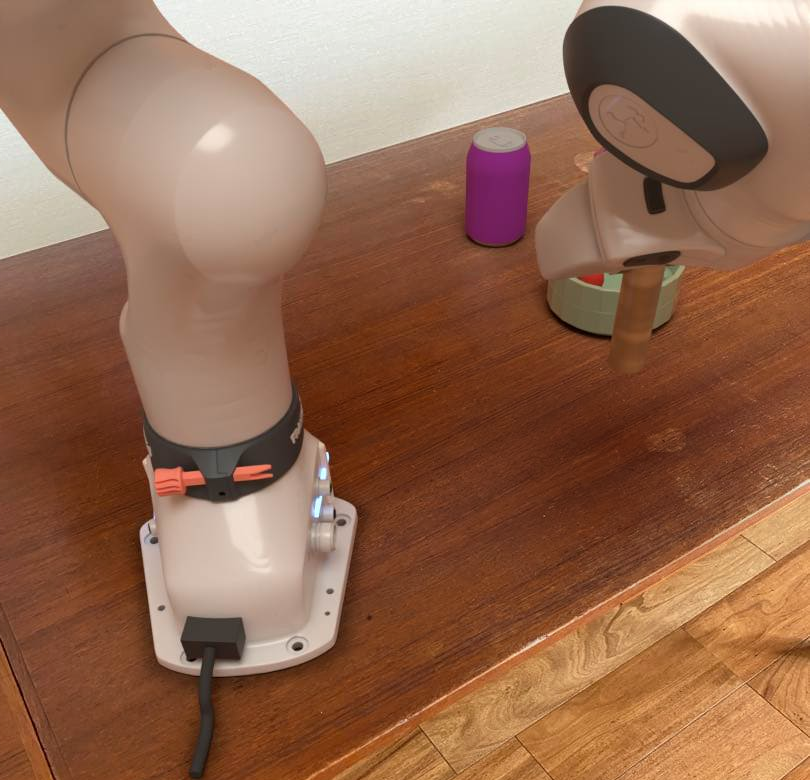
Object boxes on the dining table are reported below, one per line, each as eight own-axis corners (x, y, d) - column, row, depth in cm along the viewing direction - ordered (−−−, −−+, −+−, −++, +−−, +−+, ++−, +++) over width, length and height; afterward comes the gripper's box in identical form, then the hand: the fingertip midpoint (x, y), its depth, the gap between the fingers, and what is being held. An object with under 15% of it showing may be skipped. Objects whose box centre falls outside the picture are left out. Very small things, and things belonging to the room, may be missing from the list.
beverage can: (452, 233, 110) (453, 136, 101) (497, 214, 113) (502, 119, 104) (492, 256, 106) (496, 158, 97) (538, 236, 109) (546, 138, 100)
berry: (605, 296, 98) (609, 272, 95) (579, 299, 97) (582, 275, 95) (598, 282, 100) (602, 259, 97) (573, 285, 100) (575, 261, 97)
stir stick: (649, 372, 71) (691, 179, 59) (612, 375, 71) (648, 182, 59) (638, 351, 73) (677, 160, 61) (603, 354, 73) (636, 163, 61)
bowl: (691, 335, 93) (704, 285, 89) (562, 346, 93) (568, 297, 88) (652, 267, 103) (662, 219, 99) (535, 277, 102) (539, 229, 98)
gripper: (884, 117, 53) (760, 200, 67) (569, 156, 50) (507, 235, 64) (900, 219, 53) (773, 282, 67) (587, 264, 51) (521, 320, 64)
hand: (641, 259), depth 66 cm, fingers closed on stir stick, 3 cm apart
